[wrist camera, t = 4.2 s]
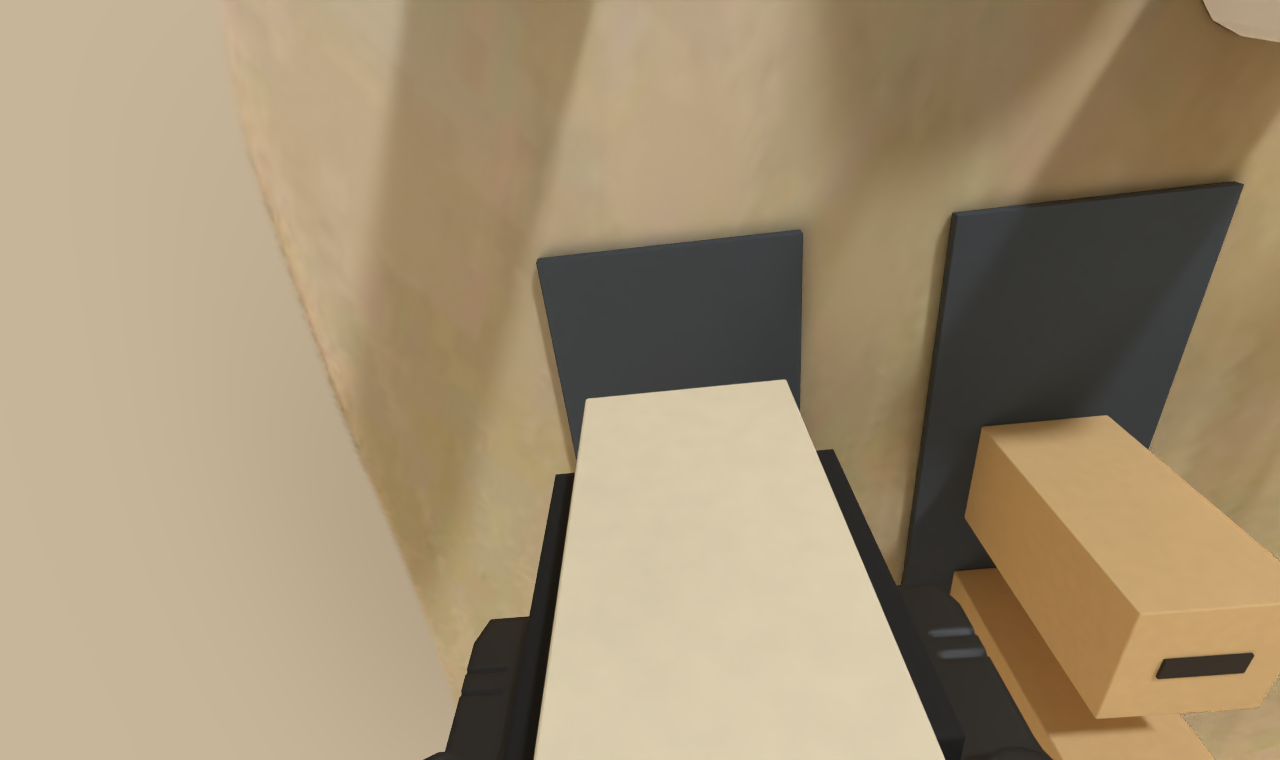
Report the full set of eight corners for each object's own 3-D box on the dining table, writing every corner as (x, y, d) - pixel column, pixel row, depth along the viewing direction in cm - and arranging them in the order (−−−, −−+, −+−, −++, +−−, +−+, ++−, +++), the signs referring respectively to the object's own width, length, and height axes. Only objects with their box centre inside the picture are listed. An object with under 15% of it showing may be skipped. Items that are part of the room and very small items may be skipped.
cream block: (786, 530, 17) (913, 964, 9) (611, 545, 17) (588, 979, 9) (786, 377, 15) (956, 780, 7) (585, 397, 15) (524, 808, 7)
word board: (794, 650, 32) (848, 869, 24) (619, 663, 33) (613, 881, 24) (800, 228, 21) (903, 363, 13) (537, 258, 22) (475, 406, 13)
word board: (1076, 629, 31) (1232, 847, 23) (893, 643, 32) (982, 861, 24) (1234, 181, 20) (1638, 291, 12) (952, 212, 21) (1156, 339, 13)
